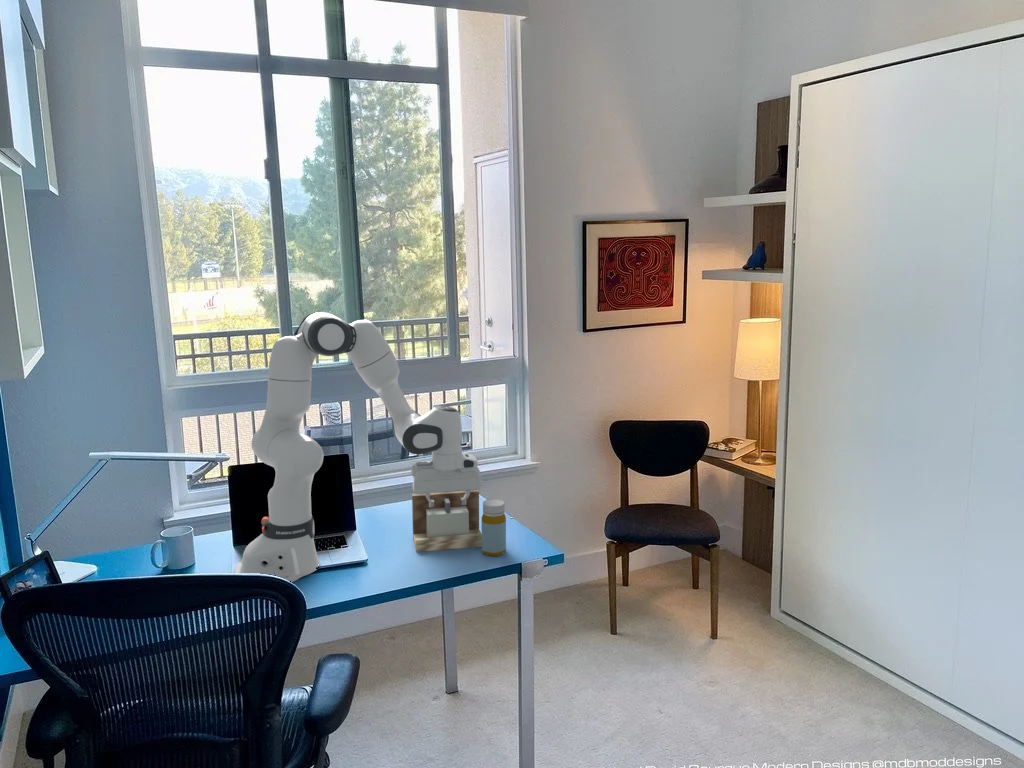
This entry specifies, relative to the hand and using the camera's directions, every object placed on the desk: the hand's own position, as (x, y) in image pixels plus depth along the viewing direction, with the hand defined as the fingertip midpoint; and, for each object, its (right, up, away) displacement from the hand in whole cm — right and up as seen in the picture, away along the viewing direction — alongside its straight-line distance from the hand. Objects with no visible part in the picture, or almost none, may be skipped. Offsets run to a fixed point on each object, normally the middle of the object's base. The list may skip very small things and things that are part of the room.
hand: (447, 505), depth 224 cm
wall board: (0, -11, +2) cm, 12 cm away
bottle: (+14, -13, -4) cm, 19 cm away
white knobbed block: (0, -9, +2) cm, 10 cm away
